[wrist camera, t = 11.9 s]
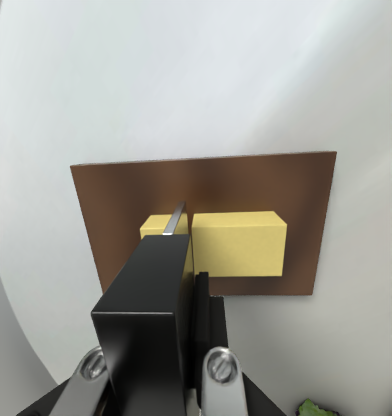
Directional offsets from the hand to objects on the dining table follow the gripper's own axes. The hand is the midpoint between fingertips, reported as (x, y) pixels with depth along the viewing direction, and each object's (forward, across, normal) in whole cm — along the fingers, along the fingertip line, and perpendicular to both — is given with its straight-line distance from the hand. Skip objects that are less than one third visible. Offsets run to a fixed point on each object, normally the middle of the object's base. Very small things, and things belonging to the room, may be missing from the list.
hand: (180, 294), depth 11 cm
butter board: (+9, -1, 0) cm, 9 cm away
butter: (+7, -4, 0) cm, 8 cm away
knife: (+4, 0, 0) cm, 4 cm away
